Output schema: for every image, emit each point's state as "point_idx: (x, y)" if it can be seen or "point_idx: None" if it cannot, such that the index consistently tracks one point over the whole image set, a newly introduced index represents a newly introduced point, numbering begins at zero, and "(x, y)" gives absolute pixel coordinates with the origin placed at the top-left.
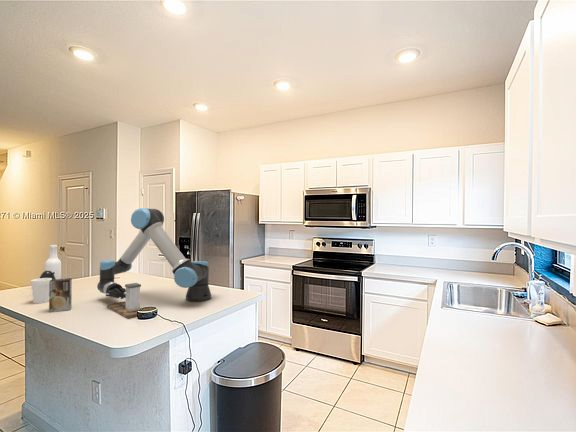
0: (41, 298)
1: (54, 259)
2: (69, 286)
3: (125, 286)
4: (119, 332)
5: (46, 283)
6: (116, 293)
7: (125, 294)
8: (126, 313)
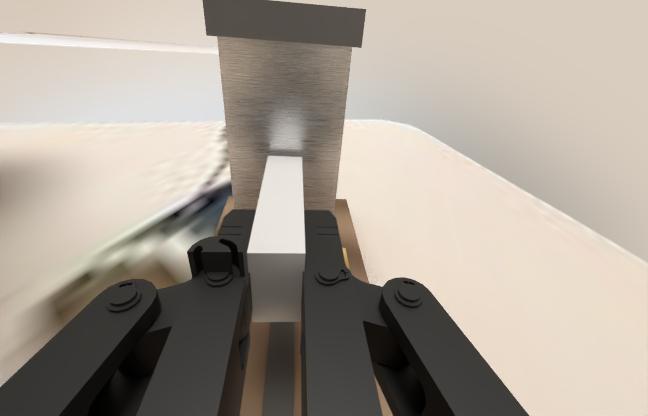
0: None
1: None
2: None
3: (359, 39)
4: (397, 155)
5: None
6: (441, 312)
7: (305, 222)
8: (340, 230)
